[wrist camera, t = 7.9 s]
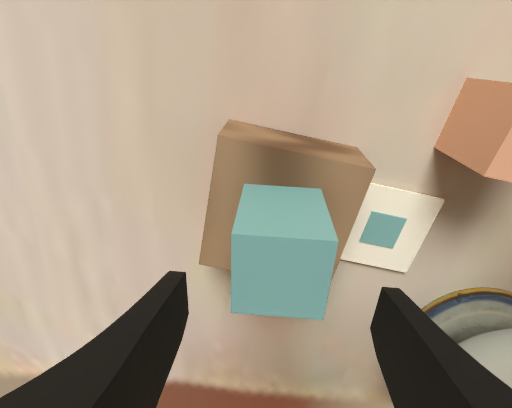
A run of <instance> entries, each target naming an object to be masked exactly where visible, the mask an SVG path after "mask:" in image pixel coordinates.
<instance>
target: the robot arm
mask: <svg viewBox="0 0 512 408" xmlns="http://www.w3.org/2000/svg"><path fill="white" fill-rule="evenodd" d="M188 314H189V311H188V297H187V283H186V272H176V271H169V272H168V273H167V274H166V275H165V276H163V277H162V278H161V279H160V280H159V281H158V282H157V283H156V284H155V285H154V286H153V287H152V288H151V289H150V290H149V291H148V292H147V293H146V294H145V295H144V296H143V297H142V298H141V299H140V300H139V301H138V302H136V303H135V304H134V305H133V306H132V307H131V308H130V309H129V310H128V311H127V312H125V313H124V314H123V315H122V316H121V317H120V318H118V319H117V320H116V321H115V322H114V323H112V324H111V325H110V326H109V327H108V328H106V329H105V330H104V331H103V332H102V333H100V334H99V335H98V336H96V337H95V338H94V339H92V340H91V341H90V342H88V343H87V344H86V345H84V346H83V347H82V348H80V349H79V350H77V351H76V352H75V353H73V354H72V355H70V356H69V357H67V358H66V359H64V360H62V361H61V362H59V363H58V364H56V365H55V366H53V367H52V368H50V369H48V370H47V371H45V372H44V373H42V374H41V375H39V376H37V377H36V378H34V379H32V380H31V381H29V382H27V383H26V384H24V385H22V386H20V387H19V388H17V389H15V390H13V391H12V392H10V393H8V394H6V395H4V396H3V397H1V398H0V408H156V406H157V403H158V400H159V398H160V395H161V393H162V390H163V388H164V385H165V383H166V380H167V377H168V375H169V372H170V370H171V367H172V364H173V362H174V359H175V357H176V354H177V351H178V349H179V346H180V343H181V341H182V337H183V334H184V330H185V326H186V322H187V318H188ZM370 329H371V334H372V339H373V344H374V348H375V352H376V356H377V359H378V362H379V365H380V368H381V371H382V374H383V377H384V380H385V382H386V385H387V388H388V391H389V394H390V396H391V399H392V402H393V405H394V408H512V388H511V387H509V386H508V385H507V384H505V383H504V382H503V381H502V380H500V379H499V378H498V377H496V376H495V375H494V374H492V373H491V372H490V371H489V370H488V369H486V368H485V367H484V366H483V365H481V364H480V363H479V362H478V361H477V360H476V359H474V358H473V357H472V356H471V355H470V354H469V353H467V352H466V351H465V350H464V349H463V348H462V347H461V346H459V345H458V344H457V343H456V342H455V341H454V340H453V339H452V338H451V337H449V336H448V335H447V334H446V333H445V332H444V331H443V330H442V329H441V328H440V327H439V326H438V325H437V324H436V323H435V322H434V321H433V320H431V319H430V318H429V317H428V316H427V315H426V314H425V313H424V312H423V311H422V310H421V309H420V308H419V307H418V306H417V305H416V304H415V303H414V302H413V301H412V300H411V299H410V298H409V297H408V296H407V295H406V294H405V293H404V292H403V291H402V290H400V289H399V288H389V287H382V289H381V292H380V296H379V299H378V303H377V306H376V310H375V313H374V317H373V320H372V323H371V327H370Z"/></svg>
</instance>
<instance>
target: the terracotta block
mask: <svg viewBox="0 0 512 408" xmlns="http://www.w3.org/2000/svg"><path fill="white" fill-rule="evenodd" d="M434 148H436V149H438V150H439V151H441V152H443V153H444V154H446V155H448V156H450V157H451V158H453V159H455V160H456V161H458V162H460V163H462V164H463V165H465V166H467V167H468V168H470V169H472V170H474V171H475V172H477V173H479V174H480V175H482V176H484V177H489V178H494V179H498V180H503V181H507V182H512V83H508V82H499V81H491V80H482V79H473V78H467V79H466V81H465V83H464V85H463V87H462V89H461V91H460V94H459V96H458V98H457V100H456V102H455V104H454V106H453V108H452V111H451V113H450V115H449V117H448V119H447V121H446V123H445V125H444V128H443V130H442V132H441V134H440V136H439V138H438V140H437V142H436V145H435V147H434Z"/></svg>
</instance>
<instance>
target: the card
mask: <svg viewBox="0 0 512 408" xmlns="http://www.w3.org/2000/svg"><path fill="white" fill-rule="evenodd" d="M444 201H445V200H444V199H443V198H440V197H435V196H430V195H426V194H421V193H416V192H412V191H407V190H403V189H398V188H393V187H389V186H384V185H379V184H375V183H370V185H369V188H368V190H367V193H366V195H365V198H364V200H363V203H362V205H361V208H360V210H359V213H358V215H357V218H356V220H355V223H354V225H353V228H352V230H351V233H350V235H349V238H348V240H347V243H346V245H345V248H344V250H343V253H342V255H341V258H340V259H342V260H347V261H352V262H356V263H361V264H366V265H371V266H376V267H381V268H386V269H390V270H395V271H400V272H405V273H406V272H407V271H408V269H409V267H410V265H411V263H412V261H413V259H414V258H415V256H416V254H417V252H418V250H419V248H420V246H421V244H422V243H423V241H424V239H425V237H426V235H427V233H428V231H429V229H430V228H431V226H432V224H433V222H434V220H435V218H436V216H437V214H438V213H439V211H440V209H441V207H442V205H443V203H444Z"/></svg>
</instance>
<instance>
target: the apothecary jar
mask: <svg viewBox="0 0 512 408" xmlns="http://www.w3.org/2000/svg"><path fill="white" fill-rule="evenodd" d="M422 311H423V312H424V313H425V314H426V315H427V316H428V317H429V318H430V319H431V320H433V321H434V322H435V323H436V324H437V325H438V326H439V327H440V328H441V329H442V330H443V331H444V332H445V333H446V334H447V335H448V336H449V337H451V338H452V339H453V340H454V341H455V342H456V343H457V344H458V345H459V346H461V347H462V348H463V349H464V350H465V351H466V352H467V353H469V354H470V355H471V356H472V357H473V358H474V359H476V360H477V361H478V362H479V363H480V364H481V365H483V366H484V367H485V368H486V369H488V370H489V371H490V372H491V373H492V374H494V375H495V376H496V377H498V378H499V379H500V380H502V381H503V382H504V383H505V384H507V385H508V386H509V387H511V388H512V293H511V292H508V291H505V290H500V289H494V288H472V289H465V290H460V291H457V292H453V293H450V294H448V295H445V296H443V297H441V298H439V299H437V300H435V301H433V302H432V303H430V304H429V305H427V306H426V307H424V308H423V309H422Z"/></svg>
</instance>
